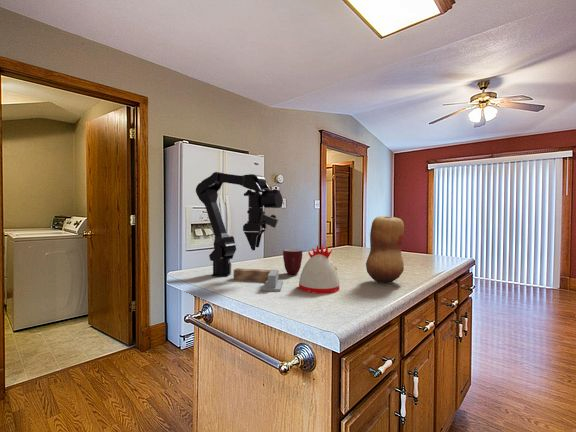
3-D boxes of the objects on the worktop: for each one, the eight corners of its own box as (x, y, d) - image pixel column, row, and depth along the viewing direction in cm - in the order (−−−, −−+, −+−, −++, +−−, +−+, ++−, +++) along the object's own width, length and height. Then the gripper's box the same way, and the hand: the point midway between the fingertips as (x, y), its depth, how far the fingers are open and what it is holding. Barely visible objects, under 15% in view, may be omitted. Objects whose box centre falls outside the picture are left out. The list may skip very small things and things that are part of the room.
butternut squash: (396, 289, 107) (397, 216, 106) (360, 283, 115) (361, 216, 114) (408, 281, 118) (409, 216, 117) (374, 276, 126) (375, 215, 125)
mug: (304, 277, 124) (304, 252, 123) (284, 277, 123) (284, 252, 122) (300, 271, 134) (300, 249, 134) (281, 272, 133) (282, 249, 133)
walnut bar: (233, 280, 118) (233, 270, 118) (236, 278, 121) (236, 268, 121) (274, 282, 115) (274, 272, 115) (276, 280, 119) (276, 270, 119)
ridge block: (262, 291, 102) (262, 276, 102) (266, 282, 114) (266, 269, 114) (280, 291, 102) (280, 276, 101) (282, 282, 114) (283, 269, 113)
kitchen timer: (338, 295, 99) (339, 248, 98) (296, 292, 101) (296, 246, 101) (339, 284, 112) (340, 243, 112) (302, 282, 115) (303, 242, 115)
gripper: (274, 208, 108) (273, 252, 108) (279, 208, 126) (278, 246, 127) (242, 207, 108) (242, 251, 109) (252, 208, 127) (251, 245, 127)
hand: (255, 248), depth 118 cm, fingers open, 9 cm apart
